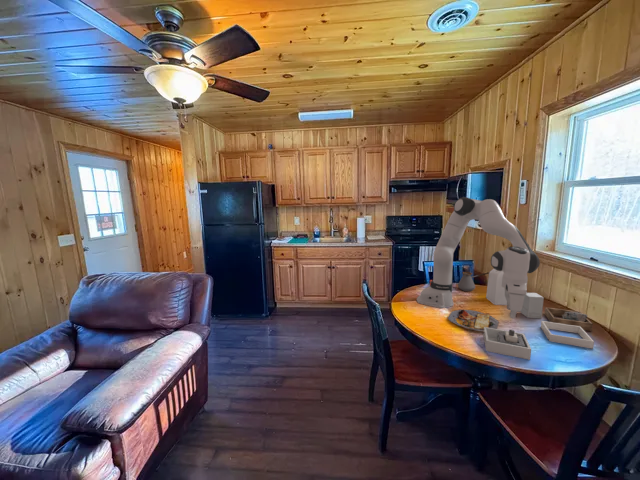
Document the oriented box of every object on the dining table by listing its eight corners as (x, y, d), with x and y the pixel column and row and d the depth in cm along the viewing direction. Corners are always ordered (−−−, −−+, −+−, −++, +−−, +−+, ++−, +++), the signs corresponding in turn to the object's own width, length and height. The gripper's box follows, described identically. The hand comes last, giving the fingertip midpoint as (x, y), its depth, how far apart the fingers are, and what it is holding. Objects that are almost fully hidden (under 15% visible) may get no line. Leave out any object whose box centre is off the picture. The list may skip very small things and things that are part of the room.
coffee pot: (457, 291, 193) (458, 271, 190) (457, 286, 203) (458, 267, 200) (492, 294, 184) (493, 274, 181) (489, 289, 194) (491, 269, 191)
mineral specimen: (566, 332, 141) (588, 329, 138) (572, 328, 135) (595, 324, 132) (555, 315, 147) (576, 311, 144) (560, 310, 140) (582, 306, 138)
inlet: (499, 349, 118) (500, 341, 117) (497, 340, 126) (497, 332, 125) (524, 354, 114) (525, 346, 113) (520, 344, 122) (521, 336, 121)
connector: (505, 348, 119) (507, 331, 118) (504, 343, 123) (505, 327, 121) (516, 350, 117) (518, 333, 116) (514, 345, 121) (516, 329, 120)
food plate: (455, 309, 163) (455, 303, 162) (500, 319, 148) (500, 313, 147) (444, 326, 144) (444, 320, 143) (494, 339, 129) (495, 333, 128)
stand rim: (552, 325, 139) (553, 318, 139) (544, 313, 153) (545, 307, 152) (591, 331, 132) (592, 323, 132) (579, 318, 145) (580, 311, 145)
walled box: (485, 350, 119) (486, 340, 118) (483, 336, 131) (484, 326, 130) (530, 360, 111) (531, 349, 110) (523, 343, 123) (524, 333, 123)
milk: (514, 305, 165) (518, 265, 161) (494, 304, 167) (497, 265, 163) (504, 298, 177) (507, 260, 173) (486, 297, 179) (488, 260, 175)
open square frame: (549, 341, 125) (550, 334, 124) (540, 327, 138) (541, 320, 137) (593, 348, 118) (594, 341, 117) (579, 333, 131) (580, 326, 130)
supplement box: (542, 318, 147) (544, 297, 145) (527, 318, 148) (529, 296, 146) (534, 313, 154) (536, 292, 152) (520, 312, 155) (521, 292, 153)
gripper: (502, 276, 126) (499, 303, 128) (508, 290, 108) (505, 321, 110) (518, 278, 123) (515, 306, 125) (527, 292, 105) (523, 324, 107)
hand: (510, 313), depth 117 cm, fingers open, 8 cm apart
